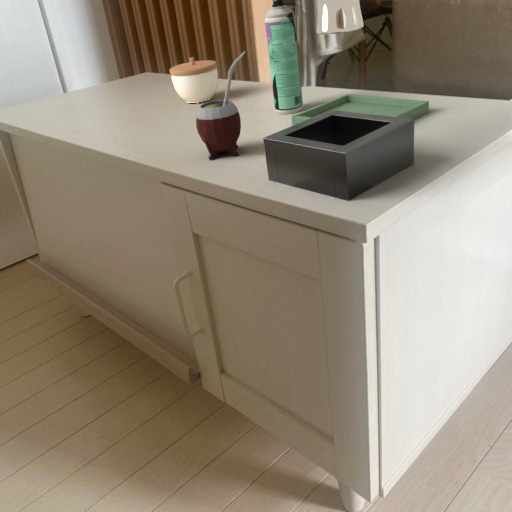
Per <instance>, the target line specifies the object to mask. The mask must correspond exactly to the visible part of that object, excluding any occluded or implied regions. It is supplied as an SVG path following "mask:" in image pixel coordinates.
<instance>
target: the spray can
mask: <svg viewBox="0 0 512 512" xmlns="http://www.w3.org/2000/svg"><path fill="white" fill-rule="evenodd" d="M264 18H265V19H264V27H265V35H266V36H265V37H266V43H267V52H268V53H267V54H268V61H269V68H270V69H269V70H270V76H271V86H272V95H273V103H274V110H275V113H276V114H279V115H291V114H295V113H296V114H297V113H300V112H302V111H303V110H304V101H303V90H302V80H301V79H302V78H301V69H300V58H299V47H298V38H297V37H298V36H297V25H296V16H295V11H294V10H292V9H290V8H288V7H287V4H285V3H284V1H283V0H272V5H271V7H270V10H268V11H267V13H266V14H264Z"/></svg>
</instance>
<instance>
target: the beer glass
mask: <svg viewBox="0 0 512 512" xmlns="http://www.w3.org/2000/svg"><path fill="white" fill-rule="evenodd" d="M316 2H317V19H316V21H317V22H316V33H317V34H318V35H336V34H343V33H350V32H354V31H357V30H361V29H363V28H364V26H365V24H364V19H363V15H362V10H361V5H360V4H361V3H360V0H316Z"/></svg>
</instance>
